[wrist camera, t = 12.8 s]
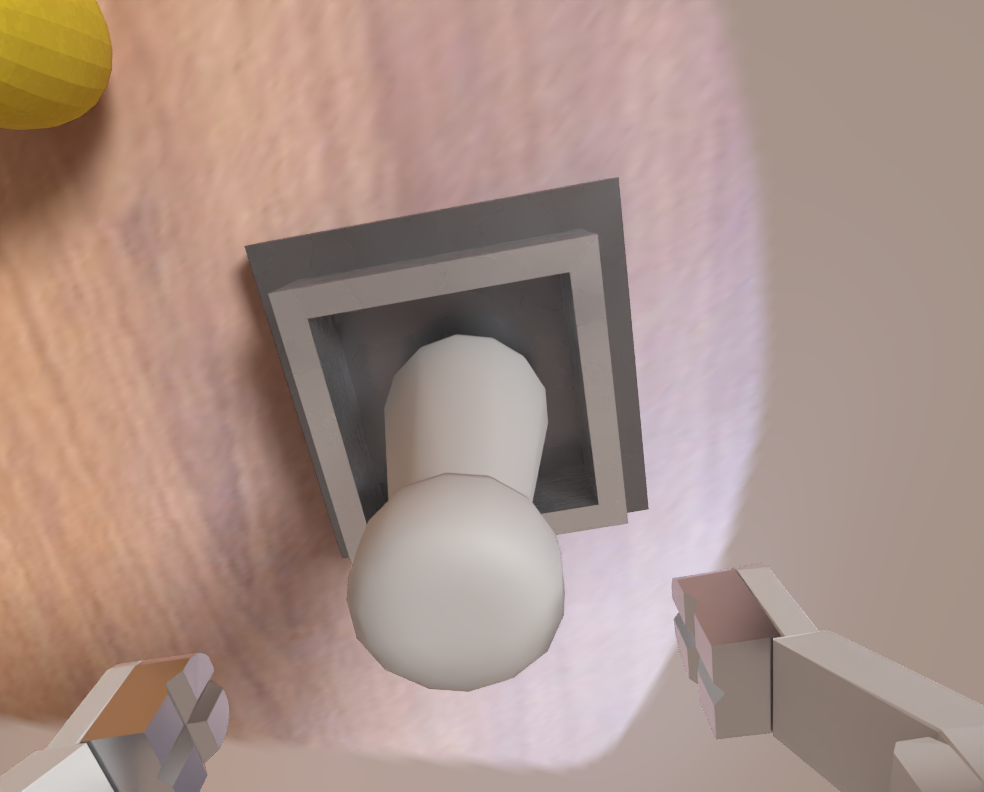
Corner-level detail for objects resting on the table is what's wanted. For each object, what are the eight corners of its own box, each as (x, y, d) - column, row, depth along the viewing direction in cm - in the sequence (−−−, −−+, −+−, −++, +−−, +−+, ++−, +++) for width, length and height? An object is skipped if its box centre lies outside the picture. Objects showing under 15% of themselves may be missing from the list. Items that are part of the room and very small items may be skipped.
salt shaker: (511, 474, 24) (546, 775, 11) (379, 435, 23) (264, 710, 11) (562, 347, 22) (666, 541, 10) (419, 300, 21) (337, 444, 9)
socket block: (349, 538, 26) (324, 605, 22) (259, 242, 22) (206, 254, 18) (639, 492, 26) (670, 550, 22) (609, 178, 21) (641, 174, 17)
